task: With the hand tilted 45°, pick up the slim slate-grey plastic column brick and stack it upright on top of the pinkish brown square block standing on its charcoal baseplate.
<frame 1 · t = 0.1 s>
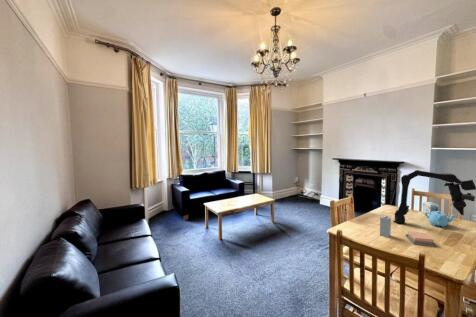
hand: (462, 213, 147), 15 cm above the table, tool pointing down, fingers open, 9 cm apart
teapot: (439, 225, 165), on the table
column brick: (385, 235, 151), on the table
pinkish brown square block: (420, 241, 140), on the table
light bulb box: (430, 215, 186), on the table
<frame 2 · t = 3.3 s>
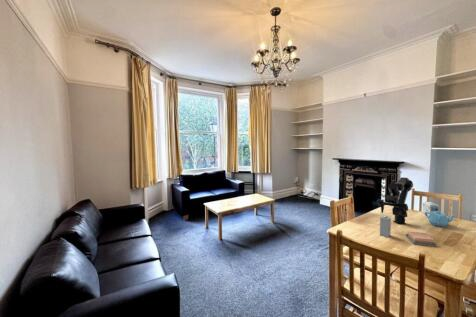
hand: (389, 214, 154), 13 cm above the table, tool tilted 45°, fingers open, 9 cm apart
nothing on the table moved.
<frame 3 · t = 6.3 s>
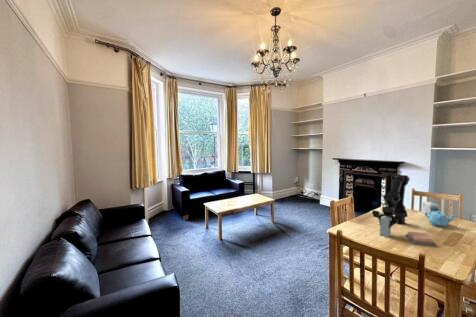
hand: (384, 226, 149), 7 cm above the table, tool tilted 45°, fingers closed on column brick, 5 cm apart
column brick: (385, 235, 151), on the table, touching gripper
everything else where it was.
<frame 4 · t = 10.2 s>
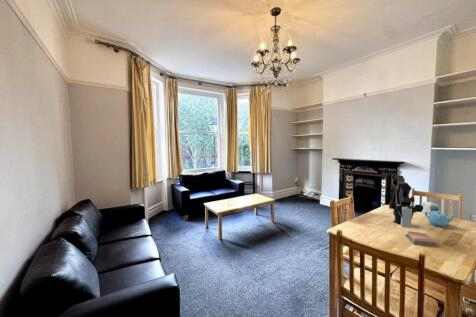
hand: (406, 217, 146), 14 cm above the table, tool tilted 45°, fingers closed on column brick, 5 cm apart
column brick: (405, 226, 148), point 7 cm above the table, touching gripper
everything else where it was.
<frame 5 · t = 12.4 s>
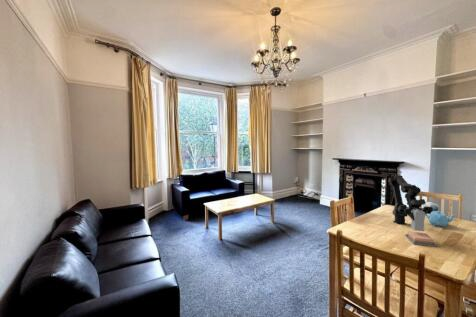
hand: (418, 220, 142), 13 cm above the table, tool tilted 45°, fingers closed on column brick, 5 cm apart
column brick: (417, 229, 144), point 7 cm above the table, touching gripper
everything else where it was.
when the fingers open (12 cm above the table, at t = 14.1 s): column brick drops 2 cm, resting on pinkish brown square block.
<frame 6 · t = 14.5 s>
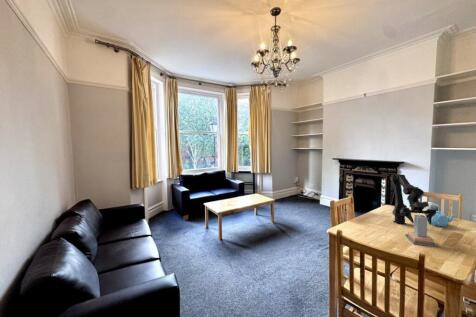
hand: (421, 223, 138), 13 cm above the table, tool tilted 45°, fingers open, 9 cm apart
column brick: (420, 235, 140), point 4 cm above the table, touching pinkish brown square block
everything else where it was.
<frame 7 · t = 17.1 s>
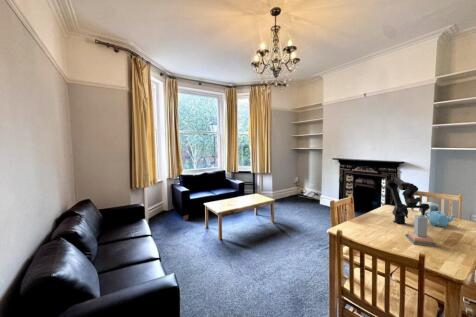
hand: (415, 218, 147), 13 cm above the table, tool tilted 40°, fingers open, 9 cm apart
nothing on the table moved.
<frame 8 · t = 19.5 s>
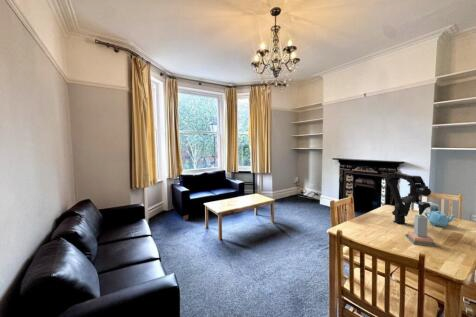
hand: (414, 213, 157), 13 cm above the table, tool pointing down, fingers open, 9 cm apart
nothing on the table moved.
at the end: column brick inside the target area on the pinkish brown square block (0.0 cm from its centre), point 4.0 cm above the pinkish brown square block's base; column brick tilted 0°; the gripper is holding nothing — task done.
